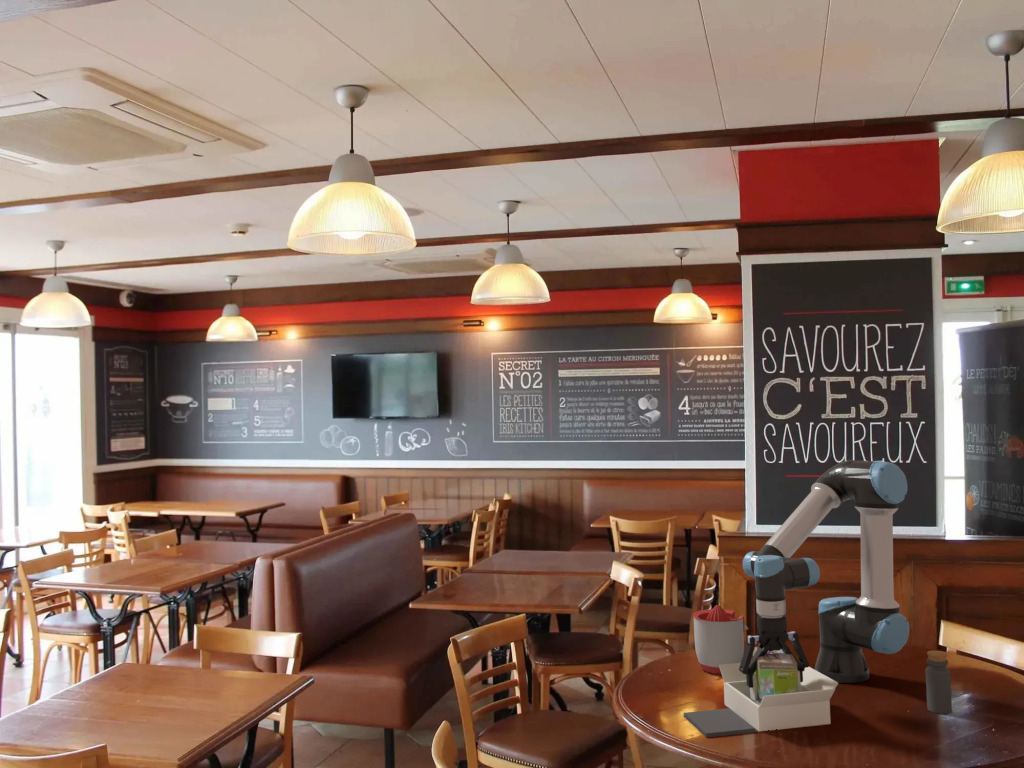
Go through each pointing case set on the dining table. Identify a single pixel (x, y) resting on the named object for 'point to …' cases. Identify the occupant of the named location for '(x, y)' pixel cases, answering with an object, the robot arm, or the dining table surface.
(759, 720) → the carton
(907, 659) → the dining table surface
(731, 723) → the mat
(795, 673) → the tea box
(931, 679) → the bottle
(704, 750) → the dining table surface
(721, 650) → the citrus juicer
